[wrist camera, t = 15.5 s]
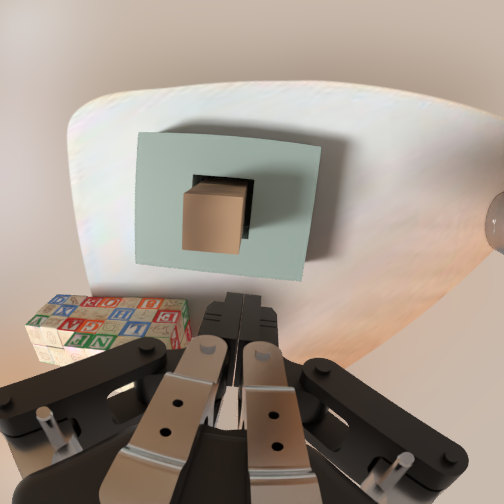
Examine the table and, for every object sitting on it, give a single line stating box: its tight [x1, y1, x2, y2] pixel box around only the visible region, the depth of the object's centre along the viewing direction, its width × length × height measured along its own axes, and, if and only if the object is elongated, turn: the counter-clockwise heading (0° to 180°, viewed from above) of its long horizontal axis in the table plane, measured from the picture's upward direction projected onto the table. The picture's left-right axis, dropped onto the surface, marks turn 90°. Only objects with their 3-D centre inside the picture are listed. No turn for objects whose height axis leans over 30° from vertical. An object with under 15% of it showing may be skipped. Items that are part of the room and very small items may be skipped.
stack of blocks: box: [25, 295, 192, 392], centre depth 35 cm, size 21×6×12 cm, turn 91°
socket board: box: [135, 132, 321, 281], centre depth 32 cm, size 18×14×5 cm
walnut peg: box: [182, 178, 248, 255], centre depth 29 cm, size 5×5×12 cm
